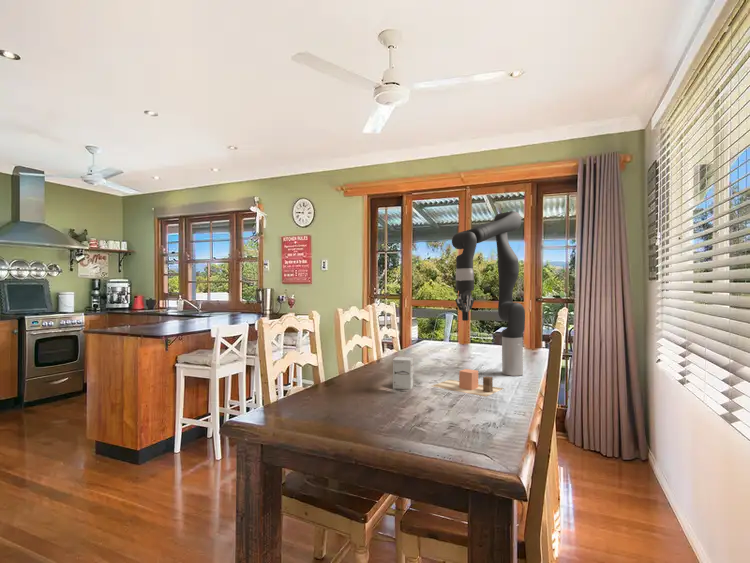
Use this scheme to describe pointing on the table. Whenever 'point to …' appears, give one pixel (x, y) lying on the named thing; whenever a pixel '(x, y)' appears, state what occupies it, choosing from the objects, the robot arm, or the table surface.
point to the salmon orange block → (468, 379)
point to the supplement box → (402, 373)
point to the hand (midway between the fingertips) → (465, 320)
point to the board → (455, 387)
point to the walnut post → (488, 384)
